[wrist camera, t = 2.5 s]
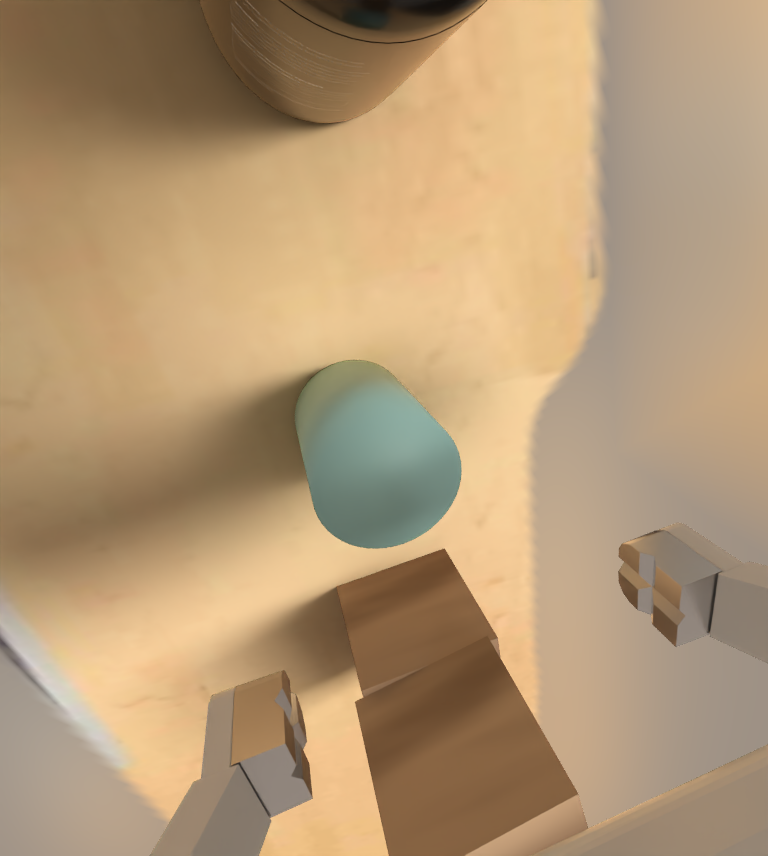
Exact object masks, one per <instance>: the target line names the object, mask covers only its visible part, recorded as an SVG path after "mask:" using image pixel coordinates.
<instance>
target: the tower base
mask: <svg viewBox="0 0 768 856" xmlns="http://www.w3.org/2000/svg"><path fill="white" fill-rule="evenodd" d="M337 591H338V595H339V599H340V603H341V608H342V612H343V616H344V620H345V624H346V629H347V633H348V637H349V641H350V645H351V649H352V654H353V658H354V662H355V666H356V670H357V675H358V679H359V683H360V687H361V691H362V694H363V697H366V696H368V695H370V694H372V693H374V692H376V691H378V690H380V689H382V688H384V687H386V686H388V685H390V684H392V683H394V682H396V681H398V680H400V679H402V678H404V677H406V676H408V675H410V674H412V673H414V672H416V671H418V670H420V669H422V668H424V667H426V666H428V665H430V664H432V663H434V662H436V661H438V660H440V659H442V658H444V657H446V656H448V655H450V654H452V653H454V652H456V651H458V650H460V649H462V648H464V647H466V646H468V645H470V644H472V643H474V642H476V641H478V640H480V639H482V638H484V637H486V636H488V638H489V639H490V641H491V643H492V645H493V646H494V648H495V650H496V652H497V653H498V655H499V657H500V651H499V644H498V637H497V636H496V634H495V632H494V631H493V629H492V627H491V626H490V624H489V622H488V621H487V619H486V617H485V616H484V614H483V612H482V611H481V609H480V607H479V606H478V604H477V602H476V601H475V599H474V597H473V596H472V594H471V592H470V591H469V589H468V587H467V585H466V584H465V582H464V580H463V579H462V577H461V575H460V574H459V572H458V570H457V569H456V567H455V565H454V564H453V562H452V560H451V559H450V557H449V555H448V554H447V552H446V550H445V549H442V550H439V551H436V552H433V553H430V554H428V555H425V556H422V557H419V558H416V559H414V560H411V561H408V562H405V563H402V564H399V565H397V566H394V567H391V568H388V569H385V570H382V571H380V572H377V573H374V574H371V575H368V576H365V577H363V578H360V579H357V580H354V581H351V582H348V583H346V584H343V585H340V586H337Z"/></svg>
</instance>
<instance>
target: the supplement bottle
mask: <svg viewBox="0 0 768 856" xmlns="http://www.w3.org/2000/svg"><path fill="white" fill-rule="evenodd" d="M199 1H200V4H201V8H202V11H203V14H204V17H205V19H206V22H207V24H208V27H209V29H210V31H211V34H212V36H213V38H214V40H215V42H216V44H217V46H218V48H219V49H220V51H221V53H222V55H223V56H224V58H225V59H226V61H227V62H228V64H229V65H230V67H231V68H232V69H233V71H234V72H235V73H236V75H237V76H238V77H239V78H240V79H241V80H242V82H243V83H244V84H245V85H246V86H247V87H248V88H249V89H250V90H251V91H252V92H254V93H255V94H256V95H257V96H258V97H259V98H261V99H262V100H263V101H265V102H266V103H267V104H269V105H270V106H272V107H274V108H275V109H277V110H279V111H281V112H283V113H285V114H287V115H289V116H292V117H295V118H297V119H301V120H305V121H309V122H316V123H335V122H341V121H346V120H350V119H353V118H356V117H358V116H360V115H362V114H364V113H366V112H368V111H370V110H371V109H373V108H375V107H376V106H377V105H379V104H380V103H381V102H382V101H384V100H385V99H386V98H387V97H388V96H389V95H391V94H392V93H393V92H394V91H395V90H396V89H397V88H398V87H399V86H400V85H401V84H402V83H403V82H404V81H405V80H406V79H407V78H408V77H409V76H410V75H411V74H412V73H413V72H414V71H415V70H416V69H417V68H418V67H419V66H421V65H422V64H423V63H424V62H425V61H426V60H427V59H428V58H429V57H430V56H431V55H432V54H433V53H434V52H435V51H436V50H437V49H438V48H439V47H440V46H441V45H442V44H443V43H444V42H445V41H446V40H447V39H448V38H449V37H450V36H451V35H452V34H453V33H454V32H455V31H456V30H458V29H459V28H460V27H461V26H462V25H463V24H464V23H465V22H466V21H467V20H468V19H469V18H470V17H471V16H472V15H473V14H474V13H475V12H476V11H477V10H478V9H479V8H480V7H481V6H482V5H483V4H484V3H485V2H486V1H487V0H199Z"/></svg>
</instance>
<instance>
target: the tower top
mask: <svg viewBox="0 0 768 856" xmlns="http://www.w3.org/2000/svg"><path fill="white" fill-rule="evenodd" d="M355 704H356V708H357V713H358V717H359V722H360V726H361V731H362V736H363V740H364V745H365V749H366V754H367V758H368V763H369V767H370V772H371V776H372V781H373V785H374V790H375V795H376V799H377V804H378V808H379V813H380V817H381V822H382V826H383V831H384V835H385V840H386V844H387V849H388V854H389V856H531V855H533V854H535V853H537V852H539V851H541V850H543V849H545V848H548V847H550V846H552V845H554V844H556V843H558V842H560V841H563V840H565V839H567V838H569V837H571V836H573V835H575V834H577V833H580V832H582V831H584V830H586V829H588V826H587V822H586V819H585V816H584V812H583V809H582V805H581V802H580V798H579V795H578V793H577V791H576V789H575V788H574V786H573V784H572V782H571V780H570V779H569V777H568V775H567V774H566V772H565V770H564V768H563V767H562V765H561V763H560V761H559V760H558V758H557V756H556V755H555V753H554V751H553V749H552V747H551V746H550V744H549V742H548V741H547V739H546V737H545V735H544V733H543V732H542V730H541V728H540V726H539V725H538V723H537V721H536V719H535V718H534V716H533V714H532V713H531V711H530V709H529V707H528V706H527V704H526V702H525V700H524V699H523V697H522V695H521V693H520V692H519V690H518V688H517V686H516V685H515V683H514V681H513V679H512V678H511V676H510V674H509V672H508V671H507V669H506V667H505V665H504V664H503V662H502V660H501V659H500V657H499V655H498V653H497V652H496V650H495V648H494V646H493V645H492V643H491V641H490V639H489V638H488V636H486V637H484V638H482V639H480V640H478V641H476V642H474V643H472V644H470V645H468V646H466V647H464V648H462V649H460V650H458V651H456V652H454V653H452V654H450V655H448V656H446V657H444V658H442V659H440V660H438V661H436V662H434V663H432V664H430V665H428V666H426V667H424V668H422V669H420V670H418V671H416V672H414V673H412V674H410V675H408V676H406V677H404V678H402V679H400V680H398V681H396V682H394V683H392V684H390V685H388V686H386V687H384V688H382V689H380V690H378V691H376V692H374V693H372V694H370V695H368V696H366V697H364V698H362V699H360V700H358V701H356V702H355Z"/></svg>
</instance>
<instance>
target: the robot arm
mask: <svg viewBox="0 0 768 856" xmlns="http://www.w3.org/2000/svg"><path fill="white" fill-rule="evenodd" d="M619 557H620V558H621V559H622V560H623V561H624V563H623V565H622V566H621V568H620V569H619V571H618V573H619V584H620V586H621V589H622V591H623V593H624V595H625V596H626V597H627V599H628V600H629V602H630V603H631V604H632V605H633V606H634V607H635V608H636V609H637V610H639V611H642V612H645V613H648V614H650V615H651V619H652V624H653V625H654V626H655V627H656V628H657V629H658V630H659V631H660V632H661V633H662V634H663V635H664V636H665V637H666V638H667V639H668V640H669V641H670V642H671V643H672V644H673V645H674V646H675V647H677V646H680V645H683V644H685V643H688V642H691V641H693V640H696V639H699V638H701V637H704V636H706V635H709V634H710V637H712V638H714V639H716V640H718V641H720V642H723V643H725V644H727V645H729V646H731V647H733V648H736V649H738V650H740V651H742V652H744V653H747V654H749V655H751V656H753V657H755V658H758V659H760V660H762V661H764V662H766V663H768V566H765V565H762V564H758V563H754V562H746V563H742V562H741V561H739V560H738V559H736V558H735V557H733V556H732V555H730V554H729V553H727V552H726V551H724V550H723V549H721V548H720V547H718V546H717V545H715V544H714V543H712V542H711V541H709V540H708V539H706V538H705V537H703V536H702V535H700V534H699V533H697V532H696V531H694V530H693V529H691V528H689V527H688V526H686V525H685V524H682V523H675V524H672V525H670V526H667V527H664V528H662V529H659V530H656V531H653V532H650V533H648V534H645V535H643V536H640V537H638V538H635V539H633V540H630V541H627V542H625V543H622V544H621V546H620V548H619ZM306 742H307V739H306V730H305V724H304V719H303V714H302V710H301V707H300V704H299V701H298V699H297V696H296V694H294V693H291V692H290V680H289V678H288V676H287V674H286V672H285V671H279V672H276V673H274V674H271V675H268V676H265V677H262V678H259V679H256V680H253V681H250V682H247V683H244V684H241V685H239V686H236V687H234V688H231V689H228V690H225V691H222V692H219V693H216V694H214V695H212V697H211V699H210V702H209V705H208V715H207V725H206V735H205V745H204V754H203V764H202V774H201V779H199V780H196V781H194V782H193V783H192V785H191V787H190V788H189V790H188V792H187V794H186V795H185V797H184V799H183V800H182V802H181V804H180V805H179V807H178V809H177V810H176V812H175V814H174V816H173V817H172V819H171V821H170V822H169V824H168V826H167V827H166V829H165V831H164V832H163V834H162V836H161V838H160V839H159V841H158V843H157V844H156V846H155V848H154V849H153V851H152V853H151V854H150V856H259V853H260V851H261V848H262V845H263V842H264V840H265V837H266V834H267V831H268V828H269V826H270V823H271V819H270V818H271V817H273V816H275V815H278V814H280V813H282V812H284V811H287V810H289V809H291V808H293V807H295V806H298V805H300V804H302V803H304V802H306V801H309V800H311V799H313V798H312V788H311V778H310V767H309V762H308V760H307V758H306V756H305V753H304V751H303V749H304V747H305V744H306ZM531 856H768V744H767V745H765V746H763V747H761V748H759V749H757V750H755V751H753V752H750V753H748V754H746V755H744V756H742V757H740V758H737V759H735V760H733V761H731V762H729V763H727V764H725V765H723V766H721V767H718V768H716V769H714V770H712V771H710V772H708V773H706V774H703V775H701V776H699V777H697V778H695V779H693V780H691V781H688V782H686V783H684V784H682V785H680V786H678V787H676V788H673V789H671V790H669V791H667V792H665V793H663V794H661V795H659V796H656V797H655V798H652V799H650V800H648V801H646V802H644V803H641V804H639V805H637V806H635V807H633V808H631V809H629V810H627V811H625V812H622V813H620V814H618V815H616V816H614V817H612V818H609V819H608V820H605V821H603V822H601V823H599V824H597V825H595V826H593V827H590V828H588V829H586V830H584V831H582V832H580V833H577V834H575V835H573V836H571V837H569V838H567V839H565V840H563V841H560V842H558V843H556V844H554V845H552V846H550V847H548V848H545V849H543V850H541V851H539V852H537V853H535V854H533V855H531Z"/></svg>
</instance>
